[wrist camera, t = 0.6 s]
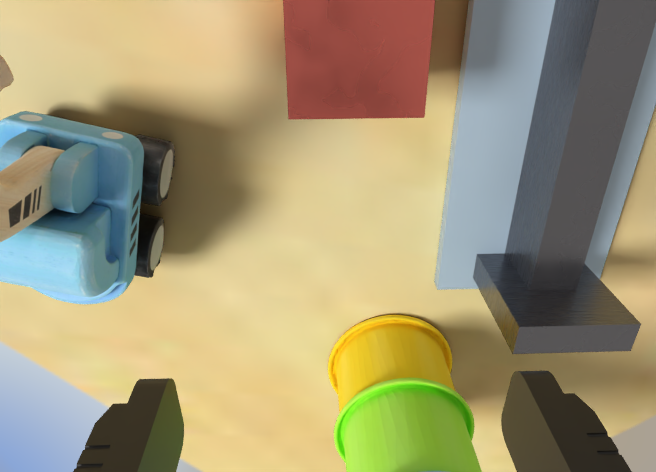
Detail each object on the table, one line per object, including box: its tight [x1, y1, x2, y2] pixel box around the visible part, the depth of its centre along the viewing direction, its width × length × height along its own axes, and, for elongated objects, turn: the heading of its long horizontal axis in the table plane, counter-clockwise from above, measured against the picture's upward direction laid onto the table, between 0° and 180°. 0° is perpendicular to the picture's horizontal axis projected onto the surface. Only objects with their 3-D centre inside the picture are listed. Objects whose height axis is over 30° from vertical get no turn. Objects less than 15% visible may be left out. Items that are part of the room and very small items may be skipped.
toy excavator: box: [0, 55, 175, 304], centre depth 23 cm, size 9×17×17 cm, turn 166°
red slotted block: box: [283, 0, 435, 119], centre depth 24 cm, size 6×6×9 cm
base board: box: [434, 0, 656, 290], centre depth 31 cm, size 22×12×1 cm, turn 0°
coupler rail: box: [473, 0, 656, 354], centre depth 27 cm, size 20×7×8 cm, turn 0°
